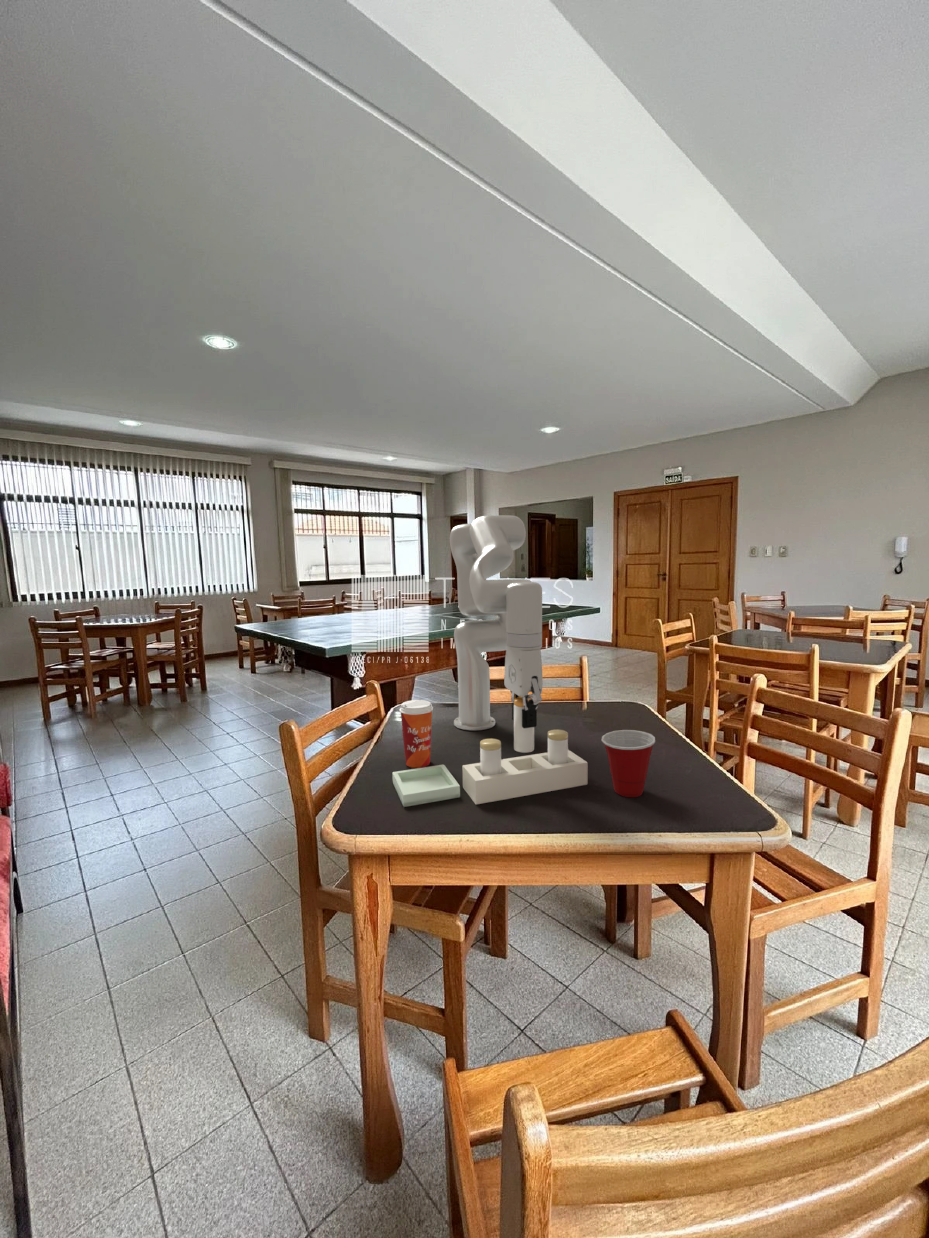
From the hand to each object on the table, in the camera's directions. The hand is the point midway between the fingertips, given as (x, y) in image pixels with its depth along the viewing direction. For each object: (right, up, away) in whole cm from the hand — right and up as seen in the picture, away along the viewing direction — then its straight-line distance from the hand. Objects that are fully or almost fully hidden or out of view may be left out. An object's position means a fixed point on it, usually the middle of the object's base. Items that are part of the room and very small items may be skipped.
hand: (524, 722), depth 109 cm
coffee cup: (-24, -13, +15) cm, 31 cm away
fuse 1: (-7, -15, -1) cm, 16 cm away
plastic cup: (+22, -14, -2) cm, 26 cm away
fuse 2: (+8, -14, +4) cm, 16 cm away
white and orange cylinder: (0, -6, +1) cm, 6 cm away
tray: (-21, -15, 0) cm, 26 cm away
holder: (0, -14, +1) cm, 14 cm away
